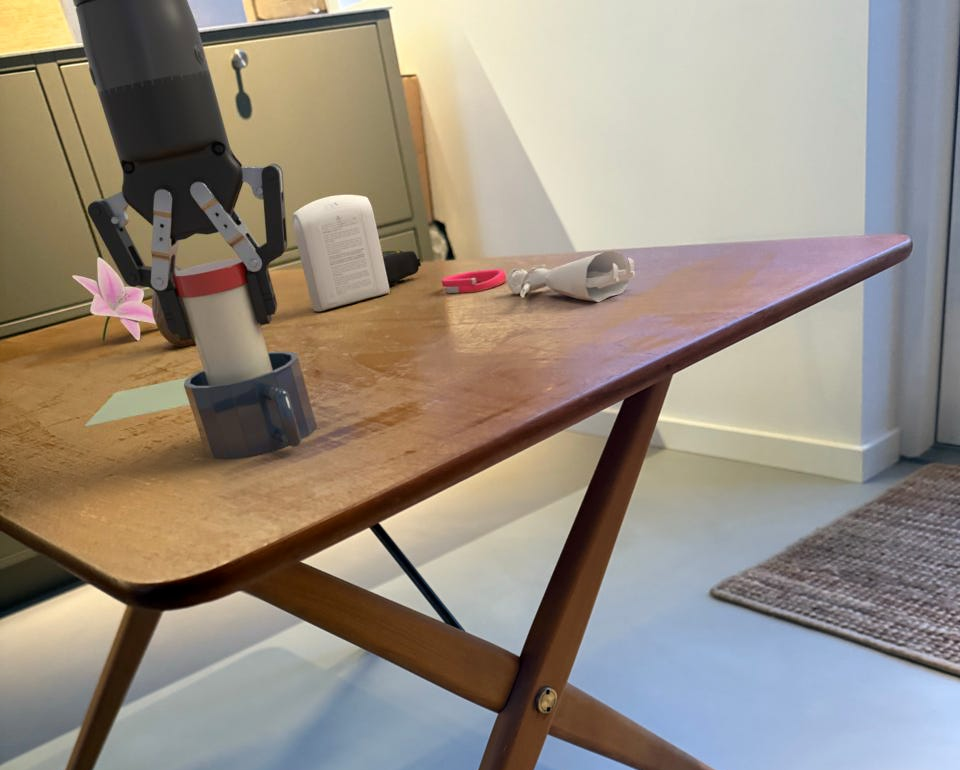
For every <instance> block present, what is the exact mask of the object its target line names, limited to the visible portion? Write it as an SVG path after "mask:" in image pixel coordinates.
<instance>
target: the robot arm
mask: <svg viewBox="0 0 960 770" xmlns="http://www.w3.org/2000/svg"><path fill="white" fill-rule="evenodd" d="M72 3H73V6H74V7H75V13H76V16H77V21H78V25H79V30H80V36H81V40H82V46H83V50H84V53H85V57H86V60H87V63H88V71H89V74H90V77H91V80H92V84H93V85H94V86H95V88H96V91H97V95H98V98H99V101H100V104H101V107H102V110H103V113H104V117H105V119H106V120H105V121H106V122H107V126H108V129H109V132H110V135H111V139H112V141H113V145H114V148H115V151H116V155H117V157H118V160H119V164H120V167H121V170H122V185H121V191H120V192H118V193H115V194H113V195H111V196H109V197H106V198H100V199H96V200H94V201H92V202H91V203H90V204H89V205H88V206H87V213H88V216H89V218H90V220H91V221H92V224H93V225H94V227H95V229H96V231H97V233H98V234H99V236H100V238H101V240H102V241H103V243H104V246H105V247H106V249H107V251H108V253H109V255H110V257H111V258H112V260H113V262H114V264H115V266H116V268H117V269H118V271H119V273H120V275H121V277H122V279H123V281H124V282H125V284H126V285H127V286H128V287H142V288H143V287H145V288H150V289H152V290H153V292H154V291H155V292H156V293H157V295H158V298H159V301H160V304H161V308H162V311H163V314H164V317H165V320H166V323H167V326H168V329H169V330H170V331H171V333H172V334H173V335H174V334H178V335H179V338H180V340H181V341H186V340H191V339H192V338H193V337H194V336H193V333H192V330H191V326H190V323H189V320H188V317H187V313H186V310H185V307H184V304H183V300H182V297H179V296H178V293H177V290H176V287H175V284H174V280H173V277H172V275H173V274H174V273H175V266H176V264H177V263H176V262H177V254H178V250H179V242H180V241H182V240H186V239H188V238H190V237H192V236H194V235H207V236H208V235H213V234H217V233H219V234H220V235H221V236H222V238H223V240H224V241H225V243H226V244H228V246H230V247H231V248H232V249H233V251H234V252H235V253H236V256H238V258H240V259H241V260H242V262H243V263H244V264H245V266H246V267H247V268H248V271H249V272H248V273H247V274H246V277H247V280H248V284H249V288H250V291H251V295H252V298H253V302H254V306H255V309H256V313H257V316H258V320H259V323H260V325H261V326H265V325H270V324H271V323H272V321H273V315H276V312H277V309H278V301H277V297H276V293H275V290H274V286H273V282H272V279H271V275H270V271H269V265H270V263H272V262H273V261H275V260H276V259H279V258H280V257H282V255H284V253H285V252H286V250H287V248H288V233H287V218H286V217H287V216H286V202H285V201H286V200H285V189H284V188H285V187H284V176H283V175H284V173H283V170H282V169H283V168H282V167H281V166H280V165H279V164H277V163H270V164H267V165H266V166H255V165H254V166H250V165H249V166H247V165H244V166H243V165H242V163H241V161H240V160H239V159H238V158H237V157H236V155H235V153H234V152H233V150H232V148H231V145H230V142H229V138H228V134H227V131H226V128H225V123H224V119H223V116H222V112H221V108H220V105H219V104H220V103H219V101H218V97H217V94H216V90H215V89H216V88H215V86H214V82H213V78H212V75H211V71H210V67H209V64H208V60H207V55H206V53H205V49H204V45H203V41H202V38H201V35H200V31H199V27H198V25H197V22H196V19H195V16H194V14H193V12H192V8H191V6H190V3H189V1H188V0H72ZM244 183H247V184H248V185H249V186H250V187H251V190H252V191H251V192H252V194H253V195H254V197H255V198H257V199H258V200H262V201H263V213H264V215H263V216H264V227H265V241H266V242H264V243H263V244H261V245H259V244H258V242H257V241H256V240H255V237H253V235H252V234H251V232H250V229H249V228H248V226H247V225H246V223H245V222H244V220H243V219H242V217H241V216H240V215H239V213H238V211H236V209H235V208H236V204H237V202H238V198H239V196H240V193H241V191H242V187H243V184H244ZM128 207H131V209H133V210H134V211H135V212H136V213H137V214H138V215H139V216H141V218H143V219H144V220H145V221H147V223H149V224H150V225H151V226H152V232H151V233H152V235H151V249H150V252H151V253H150V254H151V258H152V259H151V266H149V265H146V264H145V262H144V261H143V259H142V257H141V255H140V253H139V251H138V249H137V247H136V244H135V243H134V242H133V239H132V238H131V236H130V234H129V232H128V230H127V228H126V226H127V225H128V223H129V221H130V220H129V214H128Z"/></svg>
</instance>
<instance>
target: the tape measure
mask: <svg viewBox="0 0 960 770" xmlns="http://www.w3.org/2000/svg"><path fill="white" fill-rule="evenodd" d="M382 256H383V261H384V265H385V270H386V275H387V280H388V284H389V286H395V285H397V284H398V283H399V281H401V280H402V279H406V278H408V277H411V276H413V275H415V274H417V273H419V268H420V267H422V263H421V258H420V257H419V258H418V255H417V254H416V252H415V251H414V250H407V251H403V250H400V249H399V250H396V249H394V250H393V249H392V250H385V251H382Z"/></svg>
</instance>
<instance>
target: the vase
mask: <svg viewBox="0 0 960 770" xmlns="http://www.w3.org/2000/svg"><path fill="white" fill-rule="evenodd" d="M180 270H182V268H181V267H180V266H179V265H175V273H176V272H178V271H180ZM151 308H152V312H153V317H154V320H155V323H156V324H155V325H156V328H157V329H158V332H159V333H160V334H161V336H162V337H163V338H164V339H165V341H167V342H168V343H170V344H171V345H173V346H174V347H177V348H182V347H189V346H194V345H196V343H195V340H194V337H193V338H192V339H191V340H186V341H181V340H180V338H179V335H178V334H174V335H173V334H172V333H171V331H170V330H169V329H168V326H167V323H166V320H165V317H164V314H163V311H162V308H161V304H160V301H159V298H158V295H157V293H156V292H155V291H154V290H153V294H152V298H151Z"/></svg>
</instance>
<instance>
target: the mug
mask: <svg viewBox="0 0 960 770" xmlns="http://www.w3.org/2000/svg"><path fill="white" fill-rule="evenodd" d="M268 354H269V357H270V361H271V365H272V368H273V371H271V372H268V373H265V374H262V375H259V376H256V377H253V378H249V379H245V380H241V381H237V382H233V383H227V384H220V385H213V386H209V385H208V382H207V379H206V376H205V372H204V369H203V368H202V369H201V370H198V371H196V372H194V373H193V374H191V375H190V376H188V377H189V378H188V377H186V378H187V379H186V380H185V382H184V388H185V391H186V394H187V397H188V400H189V403H190V405H189V406H190V410H191V412H192V415H193V418H194V422H195V424H196V428H197V431H198V433H199V437H200V439H201V442H202V445H203V449H204V451H205V454H206V455H207V456H209V457H210V458H212V459H215V460H216V459H217V460H237V459H246V458H251V457H258V456H261V455H265V454H269V453H272V452H277V451H279V450H282V449H284V448H287V447H292V448H296V447H298V446H299V445H300V444H301V443H302V441H303V440H304V439H306V438H308V437H309V436H311V435H312V434H313V433H314V432H315V431H316V430H317V427H318V426H317V421H316V417H315V414H314V409H313V406H312V403H311V398H310V395H309V392H308V388H307V384H306V380H305V378H304V373H303V369H302V365H301V362H300V358H299V356H298V353H297V352H292V351H286V350H285V351H268Z"/></svg>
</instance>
